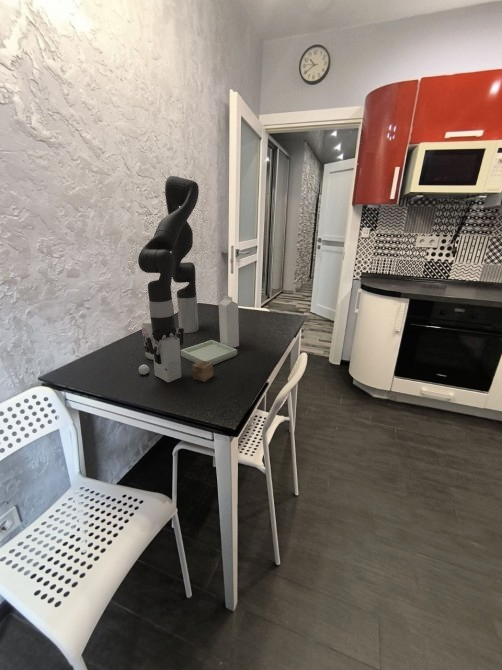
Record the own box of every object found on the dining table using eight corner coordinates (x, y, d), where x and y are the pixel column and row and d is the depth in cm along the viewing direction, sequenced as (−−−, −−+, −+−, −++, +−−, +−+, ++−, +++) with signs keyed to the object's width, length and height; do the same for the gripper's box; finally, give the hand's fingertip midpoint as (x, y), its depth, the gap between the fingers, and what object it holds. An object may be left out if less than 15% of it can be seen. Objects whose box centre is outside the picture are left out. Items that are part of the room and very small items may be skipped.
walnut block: (192, 378, 105) (191, 365, 103) (201, 372, 109) (201, 360, 107) (204, 381, 103) (203, 368, 101) (213, 375, 107) (212, 362, 105)
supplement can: (170, 353, 125) (167, 318, 120) (158, 361, 118) (154, 324, 113) (154, 351, 128) (149, 316, 123) (141, 358, 120) (136, 322, 115)
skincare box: (154, 376, 107) (149, 336, 101) (169, 370, 111) (164, 331, 106) (169, 383, 101) (164, 342, 96) (183, 376, 106) (179, 336, 101)
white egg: (137, 374, 108) (136, 365, 107) (146, 370, 110) (145, 362, 109) (142, 377, 106) (140, 368, 105) (151, 373, 108) (150, 364, 107)
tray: (181, 355, 123) (180, 350, 122) (212, 345, 134) (211, 339, 133) (205, 367, 112) (205, 361, 112) (237, 355, 123) (236, 349, 122)
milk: (227, 349, 129) (225, 298, 122) (220, 345, 134) (217, 295, 126) (239, 346, 133) (238, 296, 125) (231, 341, 137) (230, 293, 129)
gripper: (174, 307, 106) (179, 351, 111) (135, 315, 96) (142, 364, 102) (187, 311, 101) (191, 357, 107) (147, 320, 91) (153, 370, 97)
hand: (167, 360), depth 104 cm, fingers closed on skincare box, 6 cm apart
